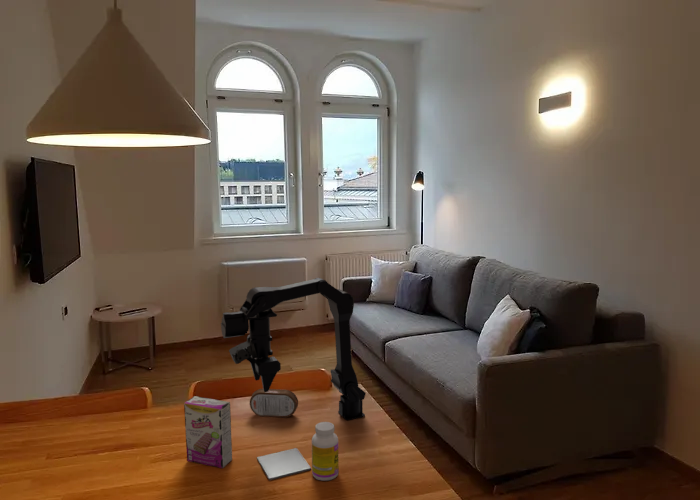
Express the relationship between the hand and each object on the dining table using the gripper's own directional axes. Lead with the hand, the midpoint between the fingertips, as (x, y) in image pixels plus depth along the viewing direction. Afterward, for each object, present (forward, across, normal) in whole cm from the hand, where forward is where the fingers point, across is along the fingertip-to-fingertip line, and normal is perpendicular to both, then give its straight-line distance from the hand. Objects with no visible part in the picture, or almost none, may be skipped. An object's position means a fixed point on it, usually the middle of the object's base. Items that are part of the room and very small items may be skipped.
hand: (261, 385), depth 151 cm
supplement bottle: (+15, +27, +8) cm, 32 cm away
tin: (+15, -10, +6) cm, 19 cm away
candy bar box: (+15, +8, -17) cm, 24 cm away
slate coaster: (+15, +18, 0) cm, 23 cm away
